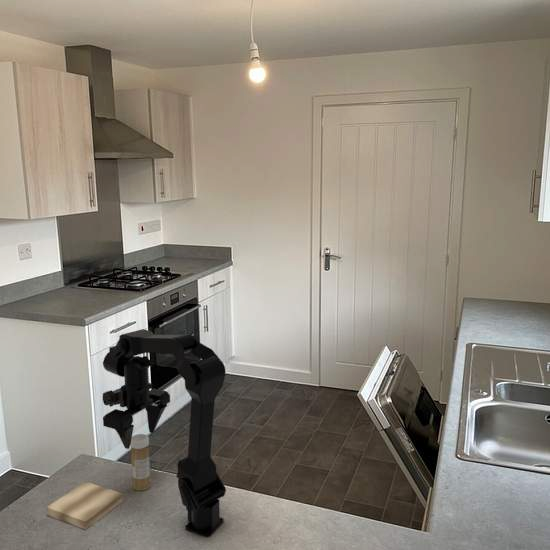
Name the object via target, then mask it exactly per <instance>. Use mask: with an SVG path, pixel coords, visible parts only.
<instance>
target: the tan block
mask: <svg viewBox="0 0 550 550" xmlns="http://www.w3.org/2000/svg"><path fill="white" fill-rule="evenodd" d="M123 496H124V495H123V493H122V492H118V491H116V490H112V489H109V488H106V487H103V486H100V485H97V484H94V483H90V482H89V481H84V482H83V483H81V484H80V485H78V486H76V487H75V488H74V489H72V490H70V491H69V492H67V493H66V494H64V495H63V496H62V497H60V498H59V499H57V500H55V501H54V502H53V503H51V504H50V505H48V506H47V507H46V513H47V516H49V517H51V518H54V519H56V520H60V521H62V522H65V523H68V524H70V525H72V526H76V527H78V528H80V529H83V530H87V529H89V528H90V527H91V526H93V525H94V524H95V523H96V522H98V521H99V520H100V519H102V518H103V517H104V516H105V515H107V514H108V513H109V512H111V511H112V510H113V509H115V508H116V507H117V506H119V505H120V504H121V503H123V499H124V497H123Z"/></svg>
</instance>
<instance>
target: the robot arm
mask: <svg viewBox="0 0 550 550" xmlns="http://www.w3.org/2000/svg"><path fill="white" fill-rule="evenodd" d="M118 337H119V338H118V340H117V342H116V345H114V346H109V349H108V350H109V351H108V352H107V353H106V354H105V356H104V358H103V361H102V366H103V369H104V370H105V371H106V372H109V373H111V374H114V375H116V376H117V377H122V378H124V384H123V385H121V387H120V388H117V389H114V390H113V389H112V390H107V391H105V392H103V393H102V402H103V404H104V405H105V406H109V407H110V408H111V407H114V406H116V405H119V407H120V408H126V409H125V410H121V409H117V408H115V409H113V410H112V411H109V412H107V413H106V414H105V415H104V416H103V417H102V423H103V427H105V428H108V429H109V428H110V429H112V430H115V431H116V433H117V435H118V436H119V438H120V440H121V442H122V445H123V447H124V449H126V450H129V449H131V446H130V444H131V439H132V436H133V433H134V432H133V431H134V427H135V425H134V424H133V422H134V416H135V415H137V414H139V413H140V412H142V411H144V410H145V411H146V414H147V417H146V418H147V424H148V425H147V426H148V431H149V433H151V434H153V433H154V432H155V431H156V428H157V426H158V423H159V421H160V419H161V417H162V415H163V413H164V412H165V409H166V408H167V407H168V404H169V403H170V402H171V394H169V392H168V390H164V389H163V390H162V389H157V388H154V387H153V386H154V385H153V383H150V380H149V379H150V378H149V367H152V366H154V362H153V361H152V360H150V359H149V358H148V356H147V355H145V356H144V355H143V356H140V355H142V354H167V355H169V354H170V355H173V357H174V358H175V363H176V364H175V365H176V370H177V372H178V373H179V374H180V376H181V377H182V379H184V387H185V390H186V391H187V393H188V394H189V396H190V397H191V401H190V402H191V404H190V416H189V417H190V418H189V433H188V434H189V435H188V448H187V449H188V451H187V456H185V457H184V458H181V459H180V460H178V463H177V475H176V476H175V477H176V478H177V486H178V491H179V494H180V499H181V502H182V503H181V504H182V505H183V506H184V507H186V509H185V511H187V512H186V513H187V522H188V523H186V525H185V526H184V528H185V530H187V531H190V532H192V533H195V534H199V535H202V536H204V537H207V538H208V537H210V536H211V535H212V534H214V533H215V532H216V530H217V529H218V528H219V527H220V526H221V525H222V524H224V523H223V522H224V518H223V517H220V516H221V515H220V514H221V513H220V509H221V508H220V499H221V498H223V497H225V496H226V491H227V488H226V487H225V485H224V483H223V481H222V479H221V477H220V476H219V474H218V471H217V464H216V462H215V461H214V459H213V458H212V455H211V452H212V451H211V450H212V440H213V438H212V437H213V425H214V413H215V402H216V398H217V396H218V395H219V393H220V391H221V389H222V388H223V387H224V382H225V378H226V367H225V365H224V363H223V361H222V360H221V358H220V357H219V356H218V355H217V354H216V352H215V351H214V350H213V349H212V348H210V347H209V346H207V345H205V344H203V343H202V342H199V340H198V339H197V337H195V336H194V335H193V334H191V333H190V334H189V333H184V334H155V333H153V332H152V330H147V329H146V328H145V329H144V328H142V329H138V330H135V331H130V332H126V333H122V334H120V335H119V336H118ZM188 353H190V354H192V355H193V356H195V357H197V358H198V359H200V360H196V361H193V362H191V363H188V361H187V360H186V357H185V354H188Z"/></svg>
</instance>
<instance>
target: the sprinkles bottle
mask: <svg viewBox="0 0 550 550" xmlns="http://www.w3.org/2000/svg"><path fill="white" fill-rule="evenodd" d="M149 446H150V438H149V435H147V434H145V433H138V434H135V435H134V434H133V435H132V439H131V444H130V450H131V475H132V488H133V490H135V491H146V490H147V489H149V488H150V487H151V476H150V475H151V466H150V463H151V462H150V450H149Z"/></svg>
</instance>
